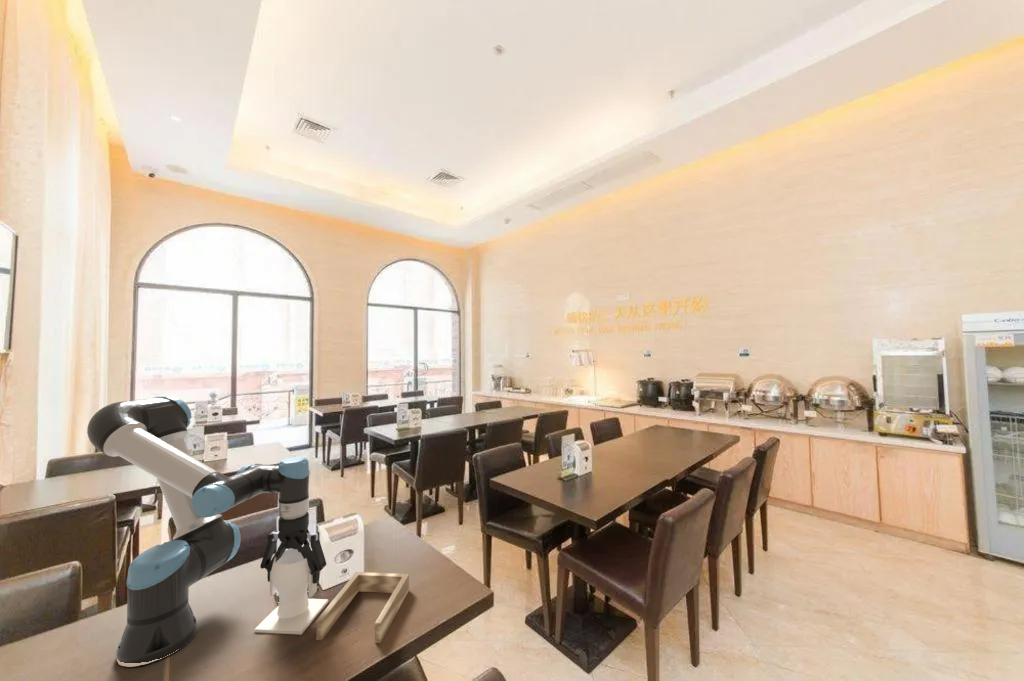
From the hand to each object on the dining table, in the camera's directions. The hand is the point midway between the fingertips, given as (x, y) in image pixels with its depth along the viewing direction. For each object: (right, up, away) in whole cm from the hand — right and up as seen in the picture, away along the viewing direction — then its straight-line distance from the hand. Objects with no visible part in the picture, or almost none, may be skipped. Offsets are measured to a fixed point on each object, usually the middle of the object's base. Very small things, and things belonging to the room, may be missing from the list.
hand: (293, 593), depth 109 cm
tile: (0, -6, 0) cm, 6 cm away
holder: (+20, -6, +1) cm, 21 cm away
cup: (0, -5, 0) cm, 5 cm away
